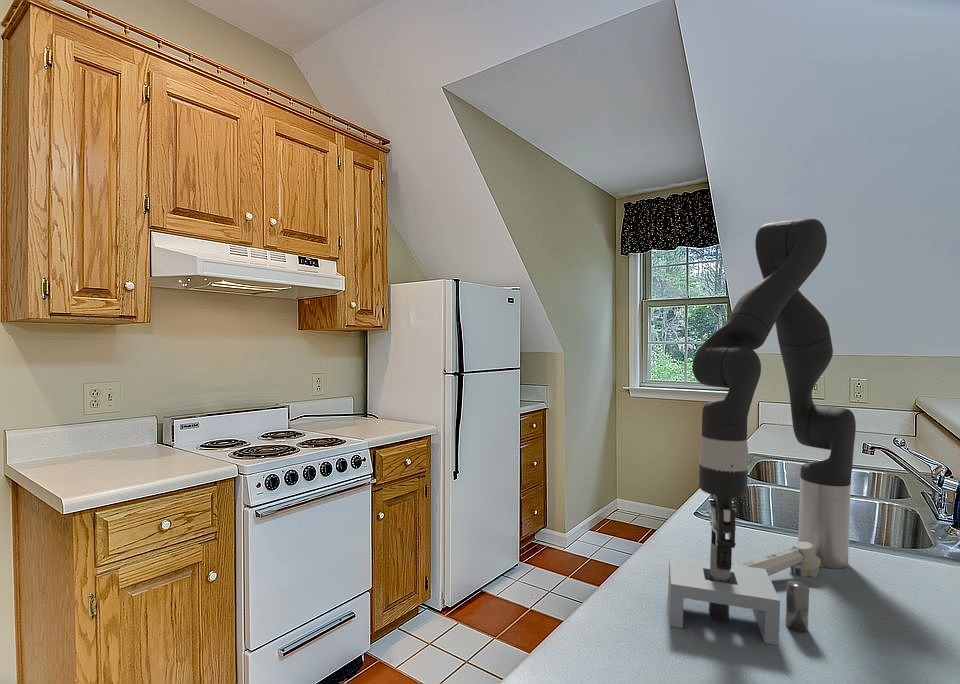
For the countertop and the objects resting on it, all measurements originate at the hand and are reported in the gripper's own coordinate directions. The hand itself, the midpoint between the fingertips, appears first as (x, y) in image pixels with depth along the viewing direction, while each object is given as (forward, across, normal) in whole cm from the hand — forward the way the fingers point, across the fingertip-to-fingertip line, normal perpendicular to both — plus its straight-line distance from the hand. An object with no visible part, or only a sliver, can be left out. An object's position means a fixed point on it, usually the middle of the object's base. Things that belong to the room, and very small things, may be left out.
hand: (720, 558), depth 93 cm
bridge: (+10, 0, 0) cm, 10 cm away
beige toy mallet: (+11, +19, -11) cm, 25 cm away
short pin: (+10, +1, -12) cm, 16 cm away
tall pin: (+10, 0, 0) cm, 10 cm away
